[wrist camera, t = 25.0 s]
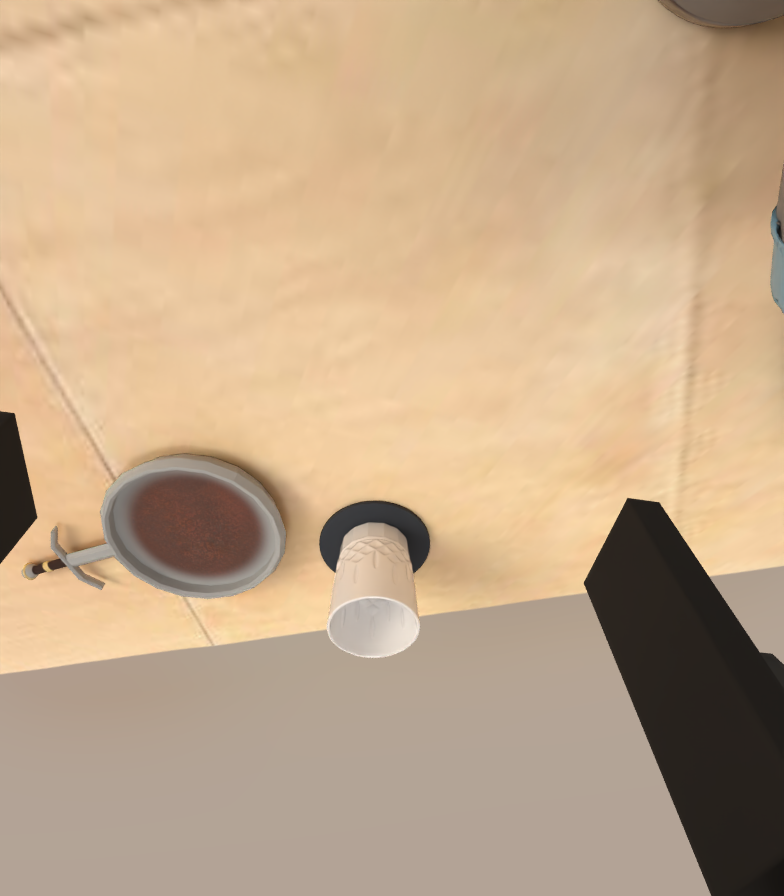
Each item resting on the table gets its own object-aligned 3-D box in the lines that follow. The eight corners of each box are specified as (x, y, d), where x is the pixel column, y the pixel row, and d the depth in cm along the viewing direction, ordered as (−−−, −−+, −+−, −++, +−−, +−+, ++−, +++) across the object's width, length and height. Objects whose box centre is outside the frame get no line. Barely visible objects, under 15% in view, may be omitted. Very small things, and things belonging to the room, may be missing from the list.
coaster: (440, 508, 53) (440, 511, 53) (417, 587, 59) (417, 590, 59) (326, 493, 52) (325, 496, 52) (314, 576, 58) (314, 579, 57)
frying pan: (-47, 521, 50) (233, 442, 45) (-26, 500, 52) (241, 424, 48) (68, 637, 59) (312, 582, 54) (81, 615, 61) (316, 560, 57)
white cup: (378, 586, 58) (378, 669, 50) (319, 549, 55) (307, 632, 47) (430, 543, 55) (439, 625, 47) (370, 503, 52) (367, 582, 44)
